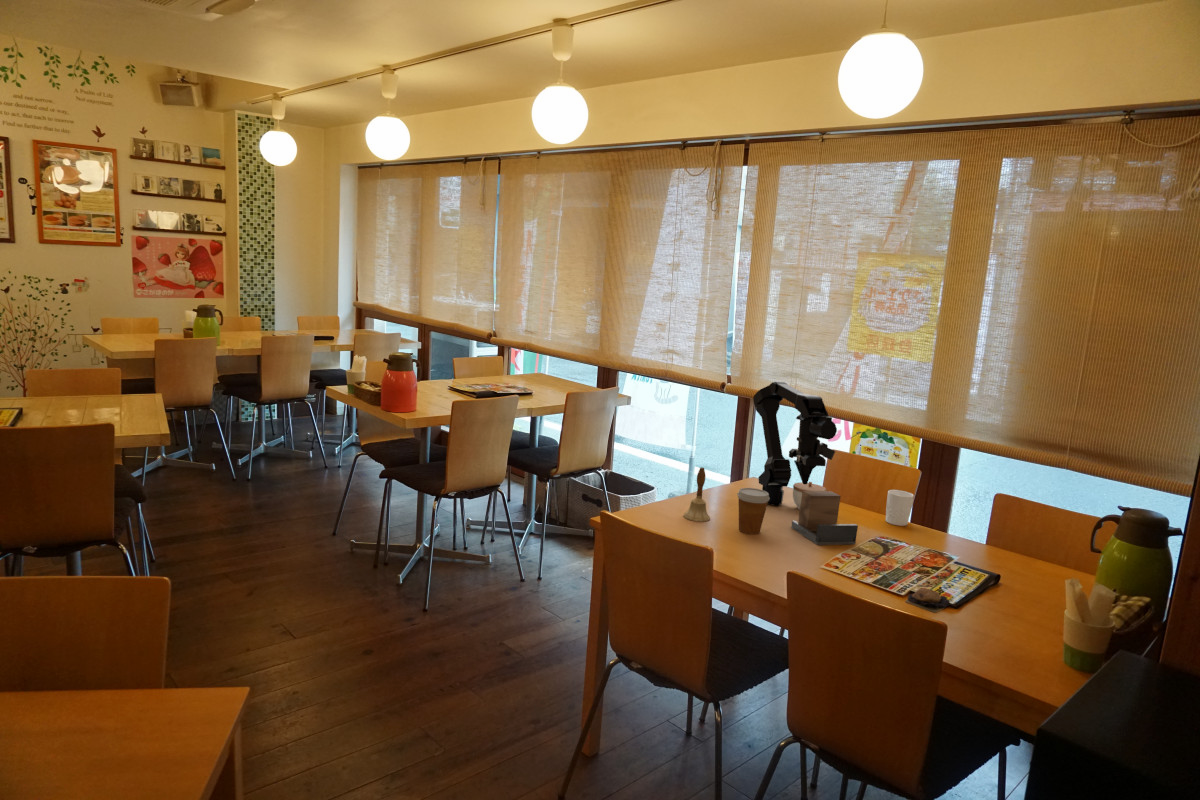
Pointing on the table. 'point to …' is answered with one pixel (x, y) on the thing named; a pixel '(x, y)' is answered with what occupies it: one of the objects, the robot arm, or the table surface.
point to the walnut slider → (818, 508)
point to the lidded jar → (804, 487)
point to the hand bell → (698, 502)
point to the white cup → (898, 507)
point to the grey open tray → (829, 533)
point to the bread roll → (928, 600)
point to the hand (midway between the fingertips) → (804, 484)
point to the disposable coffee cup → (751, 509)
